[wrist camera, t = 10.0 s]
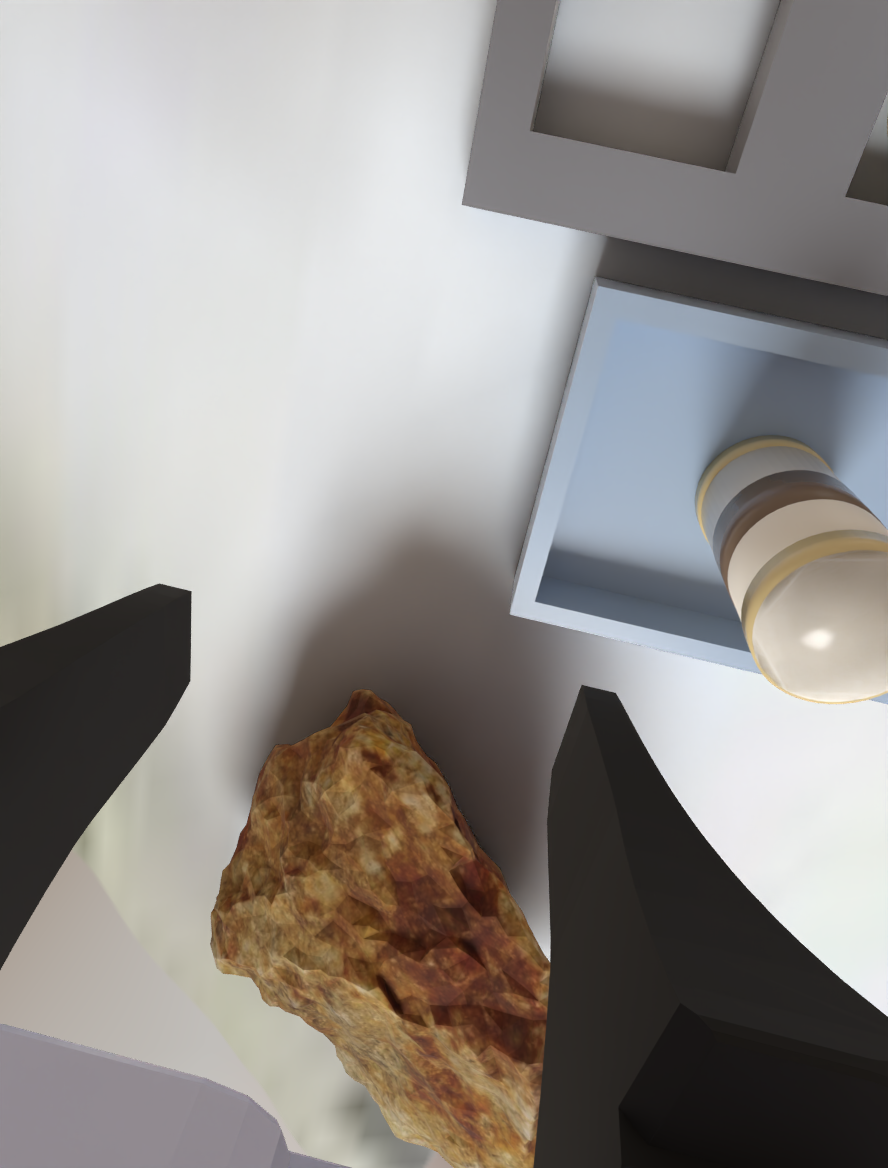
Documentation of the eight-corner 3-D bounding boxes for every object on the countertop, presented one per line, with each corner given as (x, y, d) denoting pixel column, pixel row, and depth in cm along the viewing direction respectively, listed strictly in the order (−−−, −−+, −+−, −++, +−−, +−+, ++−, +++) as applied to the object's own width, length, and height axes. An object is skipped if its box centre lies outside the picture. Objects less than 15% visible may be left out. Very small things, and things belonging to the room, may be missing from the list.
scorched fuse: (853, 451, 19) (988, 572, 13) (796, 566, 21) (892, 721, 15) (721, 421, 19) (794, 528, 13) (676, 538, 21) (722, 680, 15)
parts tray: (1069, 379, 18) (1130, 401, 16) (894, 668, 22) (924, 713, 20) (594, 276, 18) (598, 285, 17) (514, 579, 23) (509, 614, 21)
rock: (319, 585, 26) (55, 750, 23) (613, 857, 15) (170, 1249, 12) (466, 872, 38) (301, 1009, 34) (697, 1152, 26) (481, 1392, 23)
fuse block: (1278, -113, 14) (1348, -143, 12) (1032, 324, 18) (1067, 334, 16) (549, -250, 14) (548, -291, 13) (469, 204, 18) (461, 204, 17)
